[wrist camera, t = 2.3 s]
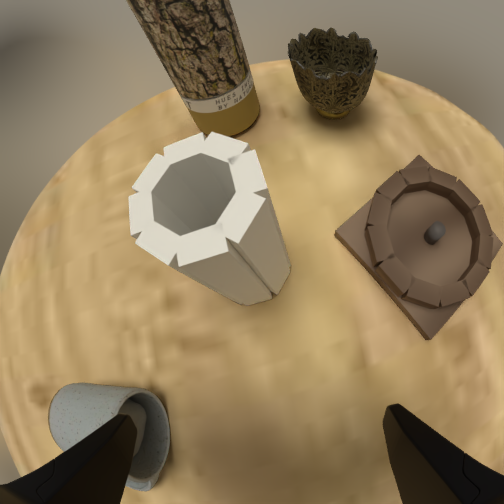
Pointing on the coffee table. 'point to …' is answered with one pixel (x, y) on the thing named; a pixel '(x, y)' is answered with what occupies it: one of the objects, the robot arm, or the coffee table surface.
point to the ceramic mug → (105, 408)
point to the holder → (423, 243)
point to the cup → (332, 70)
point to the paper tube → (203, 60)
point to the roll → (211, 217)
